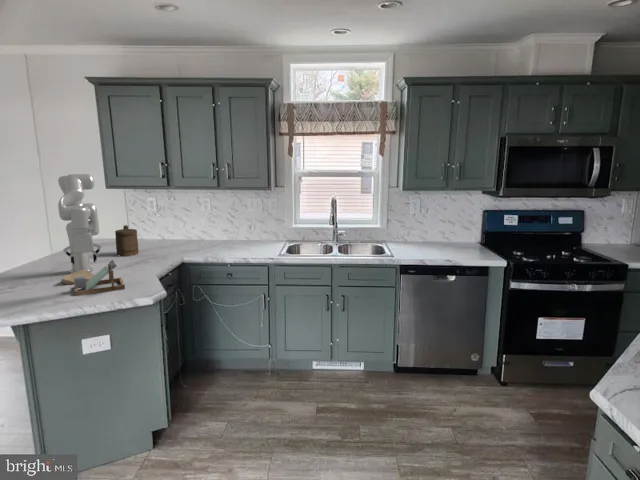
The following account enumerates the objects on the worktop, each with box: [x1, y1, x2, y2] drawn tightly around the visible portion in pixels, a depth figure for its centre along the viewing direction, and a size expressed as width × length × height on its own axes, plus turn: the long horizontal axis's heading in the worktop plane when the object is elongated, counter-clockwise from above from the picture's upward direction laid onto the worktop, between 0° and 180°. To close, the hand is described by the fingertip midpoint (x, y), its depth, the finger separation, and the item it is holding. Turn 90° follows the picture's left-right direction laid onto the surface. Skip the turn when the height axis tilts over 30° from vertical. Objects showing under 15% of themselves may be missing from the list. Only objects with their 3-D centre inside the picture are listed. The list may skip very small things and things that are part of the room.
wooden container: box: [114, 224, 140, 257], centre depth 296 cm, size 15×15×22 cm
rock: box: [61, 269, 95, 285], centre depth 231 cm, size 18×15×4 cm
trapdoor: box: [84, 259, 118, 290], centre depth 216 cm, size 14×19×2 cm
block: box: [74, 276, 86, 290], centre depth 212 cm, size 5×5×5 cm
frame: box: [73, 263, 126, 297], centre depth 216 cm, size 17×23×11 cm
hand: (84, 262), depth 211 cm, fingers open, 9 cm apart
